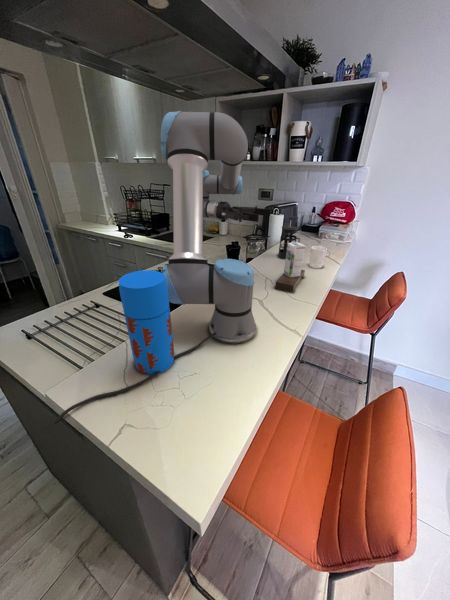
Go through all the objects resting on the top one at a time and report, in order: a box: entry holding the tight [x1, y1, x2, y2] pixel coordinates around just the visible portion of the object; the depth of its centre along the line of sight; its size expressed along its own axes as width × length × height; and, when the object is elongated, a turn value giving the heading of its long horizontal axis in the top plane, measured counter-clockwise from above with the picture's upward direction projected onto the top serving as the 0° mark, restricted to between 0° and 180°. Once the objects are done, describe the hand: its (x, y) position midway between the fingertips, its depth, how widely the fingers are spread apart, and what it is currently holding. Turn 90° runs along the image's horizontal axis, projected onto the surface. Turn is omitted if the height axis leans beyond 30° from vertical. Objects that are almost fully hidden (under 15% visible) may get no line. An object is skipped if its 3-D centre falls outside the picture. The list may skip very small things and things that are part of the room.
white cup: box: [309, 245, 328, 269], centre depth 136 cm, size 8×8×10 cm
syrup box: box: [283, 241, 306, 278], centre depth 115 cm, size 6×6×14 cm
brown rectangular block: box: [274, 269, 306, 294], centre depth 118 cm, size 20×8×4 cm, turn 151°
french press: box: [277, 215, 301, 260], centre depth 146 cm, size 12×9×23 cm
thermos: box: [118, 269, 175, 375], centre depth 66 cm, size 11×11×25 cm
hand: (264, 215), depth 105 cm, fingers open, 13 cm apart
